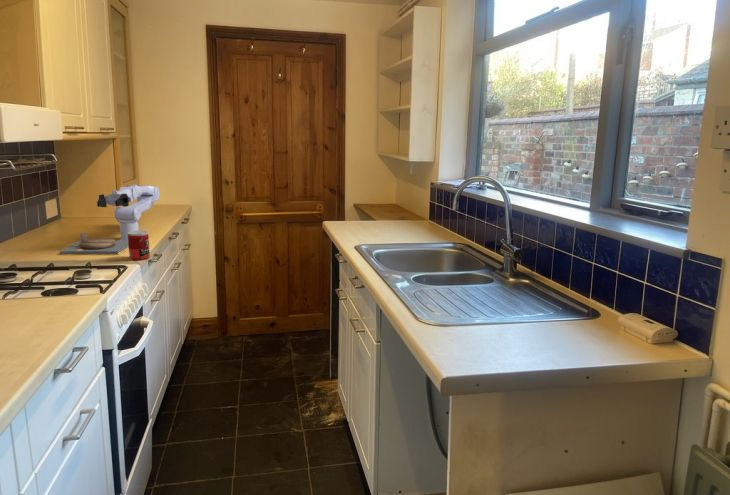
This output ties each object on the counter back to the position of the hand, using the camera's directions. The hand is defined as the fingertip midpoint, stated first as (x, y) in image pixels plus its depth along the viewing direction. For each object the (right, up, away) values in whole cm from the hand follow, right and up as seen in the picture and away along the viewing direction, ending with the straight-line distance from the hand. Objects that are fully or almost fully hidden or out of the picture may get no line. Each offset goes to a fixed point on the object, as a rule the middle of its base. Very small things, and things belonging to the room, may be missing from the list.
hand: (107, 203), depth 233 cm
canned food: (+16, -23, -5) cm, 29 cm away
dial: (-7, -18, +6) cm, 20 cm away
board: (-7, -19, +7) cm, 22 cm away
